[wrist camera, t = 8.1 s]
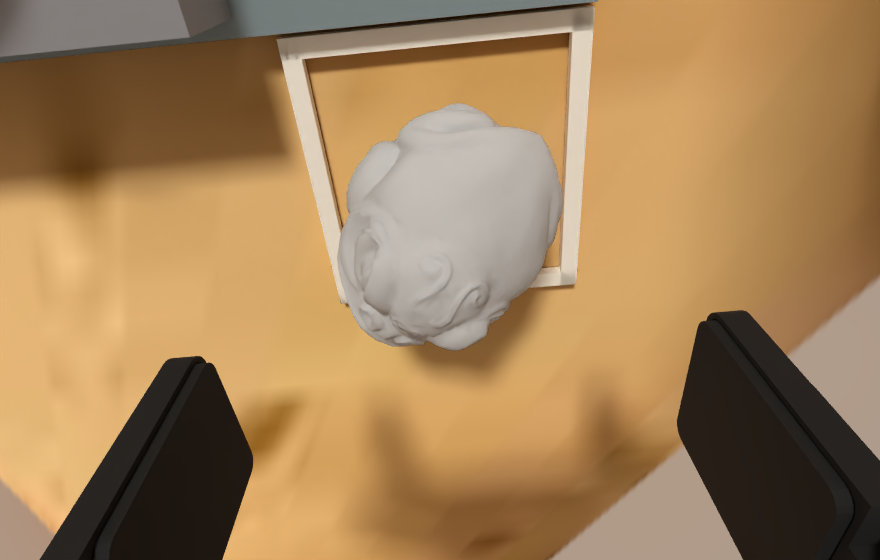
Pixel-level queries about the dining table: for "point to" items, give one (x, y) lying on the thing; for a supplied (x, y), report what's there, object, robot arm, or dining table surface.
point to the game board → (318, 8)
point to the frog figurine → (446, 227)
